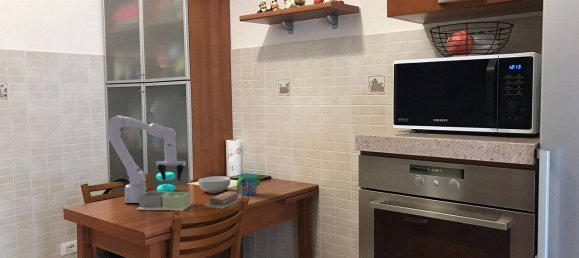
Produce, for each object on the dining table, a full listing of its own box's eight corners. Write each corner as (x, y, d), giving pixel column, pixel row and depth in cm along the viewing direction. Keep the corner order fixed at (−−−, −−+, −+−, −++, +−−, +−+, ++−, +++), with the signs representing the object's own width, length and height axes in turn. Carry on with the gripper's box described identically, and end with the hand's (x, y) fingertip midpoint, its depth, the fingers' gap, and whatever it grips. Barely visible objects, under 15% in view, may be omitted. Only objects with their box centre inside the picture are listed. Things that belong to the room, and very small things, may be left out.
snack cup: (253, 190, 265) (253, 172, 264) (266, 193, 257) (266, 174, 256) (230, 195, 254) (230, 176, 253) (243, 198, 246) (243, 178, 245)
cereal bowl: (233, 188, 272) (233, 175, 271) (226, 195, 256) (226, 181, 255) (203, 188, 274) (203, 175, 273) (195, 195, 257) (194, 181, 257)
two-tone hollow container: (136, 210, 227) (135, 197, 227) (148, 203, 241) (147, 191, 240) (182, 211, 225) (182, 198, 224) (192, 203, 238) (191, 191, 238)
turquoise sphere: (170, 171, 274) (178, 173, 266) (171, 188, 275) (178, 191, 267) (153, 173, 268) (160, 175, 260) (154, 191, 269) (161, 194, 261)
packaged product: (224, 190, 247) (241, 191, 243) (224, 199, 248) (241, 201, 244) (204, 197, 231) (222, 199, 227) (204, 207, 232) (222, 209, 227)
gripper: (153, 154, 240) (154, 181, 242) (182, 154, 239) (183, 181, 240) (158, 152, 247) (159, 178, 249) (186, 152, 246) (187, 178, 247)
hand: (171, 180), depth 245 cm, fingers open, 7 cm apart
